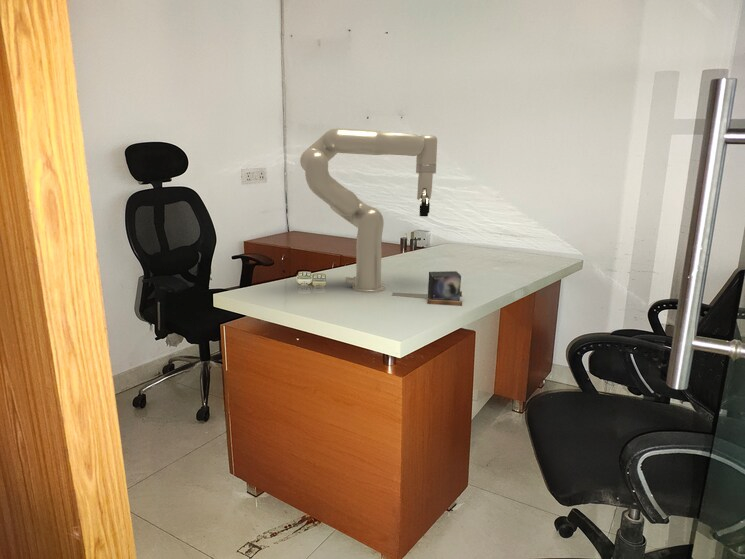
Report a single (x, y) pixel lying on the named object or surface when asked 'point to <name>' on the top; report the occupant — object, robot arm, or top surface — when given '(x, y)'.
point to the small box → (444, 286)
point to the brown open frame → (445, 302)
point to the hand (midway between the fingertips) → (424, 214)
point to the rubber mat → (410, 295)
